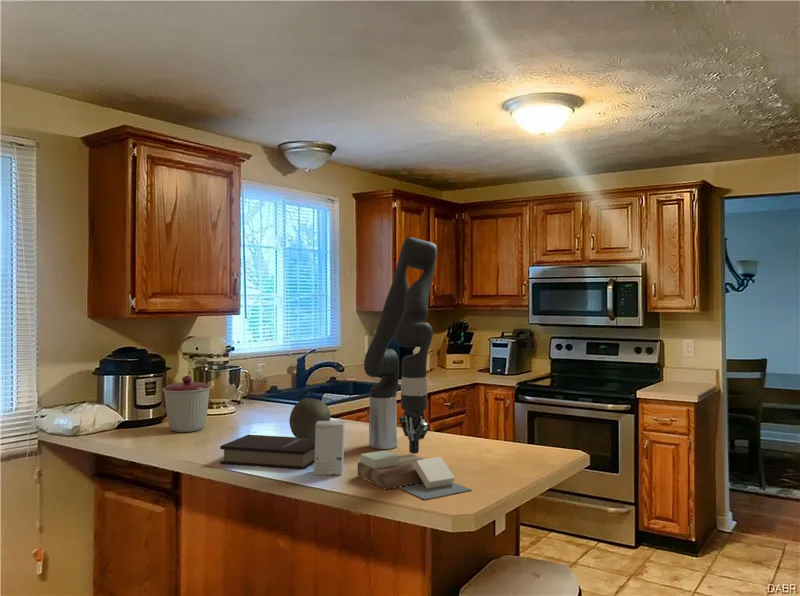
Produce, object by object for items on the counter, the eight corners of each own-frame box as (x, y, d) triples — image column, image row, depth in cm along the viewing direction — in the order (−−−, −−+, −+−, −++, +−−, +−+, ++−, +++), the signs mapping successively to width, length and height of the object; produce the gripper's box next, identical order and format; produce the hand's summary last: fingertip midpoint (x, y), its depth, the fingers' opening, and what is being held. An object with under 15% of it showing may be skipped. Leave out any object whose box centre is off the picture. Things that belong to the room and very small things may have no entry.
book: (328, 455, 217) (328, 437, 217) (303, 471, 198) (303, 451, 198) (251, 450, 224) (251, 433, 224) (220, 465, 206) (220, 446, 206)
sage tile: (360, 462, 190) (360, 454, 190) (384, 458, 194) (384, 450, 194) (374, 468, 183) (374, 459, 183) (399, 464, 187) (399, 455, 187)
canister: (198, 435, 248) (198, 379, 248) (153, 434, 251) (153, 378, 251) (219, 425, 266) (218, 373, 266) (177, 424, 269) (176, 372, 269)
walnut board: (357, 476, 190) (357, 462, 190) (410, 467, 200) (410, 453, 200) (386, 489, 177) (386, 474, 177) (441, 479, 186) (441, 465, 186)
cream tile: (414, 467, 182) (416, 460, 181) (438, 463, 186) (441, 456, 185) (427, 488, 176) (429, 481, 175) (452, 484, 180) (454, 477, 179)
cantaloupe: (303, 446, 228) (302, 403, 228) (282, 440, 239) (282, 398, 239) (337, 440, 237) (337, 398, 237) (316, 434, 248) (315, 394, 248)
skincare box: (314, 475, 192) (313, 424, 191) (316, 470, 198) (316, 420, 197) (343, 475, 191) (342, 423, 191) (345, 469, 197) (344, 419, 197)
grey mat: (399, 488, 178) (399, 487, 178) (445, 480, 186) (444, 479, 186) (424, 500, 168) (424, 499, 168) (471, 490, 175) (471, 489, 175)
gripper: (390, 390, 193) (390, 449, 193) (415, 396, 181) (415, 460, 182) (412, 388, 197) (412, 446, 197) (438, 394, 185) (438, 456, 186)
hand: (414, 453), depth 189 cm, fingers closed
